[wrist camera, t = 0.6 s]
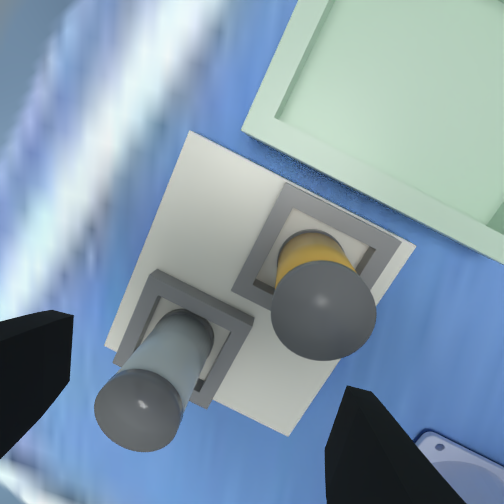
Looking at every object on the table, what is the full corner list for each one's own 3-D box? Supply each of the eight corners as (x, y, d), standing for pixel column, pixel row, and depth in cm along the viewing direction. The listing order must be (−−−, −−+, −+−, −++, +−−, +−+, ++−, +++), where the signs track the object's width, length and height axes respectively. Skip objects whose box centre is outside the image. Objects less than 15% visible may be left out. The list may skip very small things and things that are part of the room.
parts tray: (633, 49, 13) (727, 16, 10) (480, 254, 16) (522, 273, 13) (355, -98, 13) (374, -171, 10) (249, 136, 16) (240, 129, 13)
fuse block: (407, 240, 16) (425, 251, 14) (288, 421, 20) (288, 451, 18) (196, 133, 16) (182, 127, 14) (114, 335, 20) (93, 355, 18)
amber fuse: (357, 248, 16) (397, 296, 10) (323, 303, 16) (341, 377, 11) (296, 217, 15) (301, 247, 10) (266, 274, 16) (253, 333, 11)
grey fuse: (224, 325, 17) (191, 404, 12) (200, 371, 18) (159, 465, 13) (169, 298, 17) (109, 363, 12) (148, 345, 18) (83, 427, 13)
